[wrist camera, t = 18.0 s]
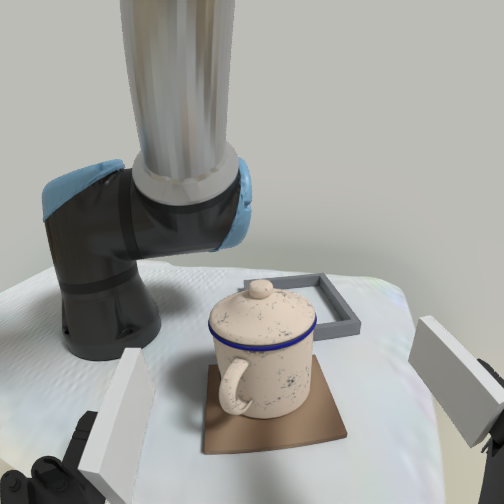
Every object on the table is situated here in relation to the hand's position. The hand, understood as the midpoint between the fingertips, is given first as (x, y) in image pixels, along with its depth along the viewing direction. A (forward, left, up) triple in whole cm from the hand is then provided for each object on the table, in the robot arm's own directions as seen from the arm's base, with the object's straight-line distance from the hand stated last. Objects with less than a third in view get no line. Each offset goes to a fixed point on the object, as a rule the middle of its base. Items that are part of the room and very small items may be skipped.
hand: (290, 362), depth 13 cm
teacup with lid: (-1, +10, -13) cm, 16 cm away
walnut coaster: (0, +10, -13) cm, 17 cm away
